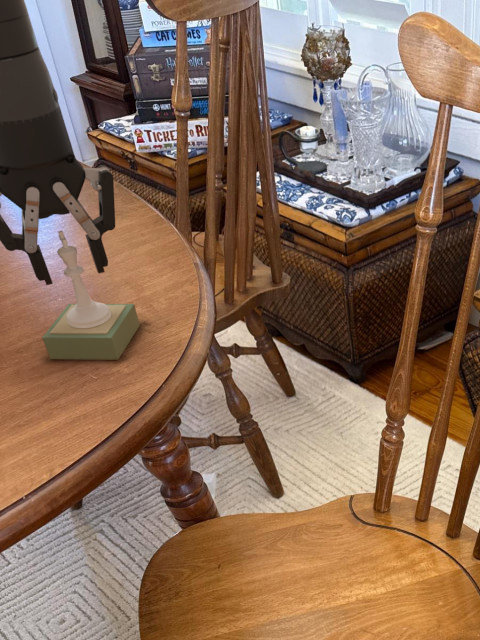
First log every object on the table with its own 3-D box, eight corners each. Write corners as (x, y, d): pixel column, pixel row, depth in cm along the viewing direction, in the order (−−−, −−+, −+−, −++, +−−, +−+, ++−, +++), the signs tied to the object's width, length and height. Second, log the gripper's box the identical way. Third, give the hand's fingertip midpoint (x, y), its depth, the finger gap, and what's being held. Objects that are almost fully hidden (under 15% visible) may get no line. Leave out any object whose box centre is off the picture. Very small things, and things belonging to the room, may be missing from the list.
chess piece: (74, 333, 87) (42, 245, 80) (62, 315, 90) (31, 229, 83) (117, 320, 89) (90, 233, 82) (104, 303, 92) (77, 218, 85)
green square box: (50, 359, 89) (41, 335, 87) (76, 324, 95) (68, 301, 93) (118, 360, 88) (110, 336, 86) (140, 325, 94) (133, 302, 92)
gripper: (87, 85, 79) (132, 250, 91) (-66, 108, 75) (3, 277, 86) (100, 103, 74) (146, 274, 86) (-62, 129, 70) (10, 305, 81)
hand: (74, 275), depth 86 cm, fingers open, 5 cm apart
